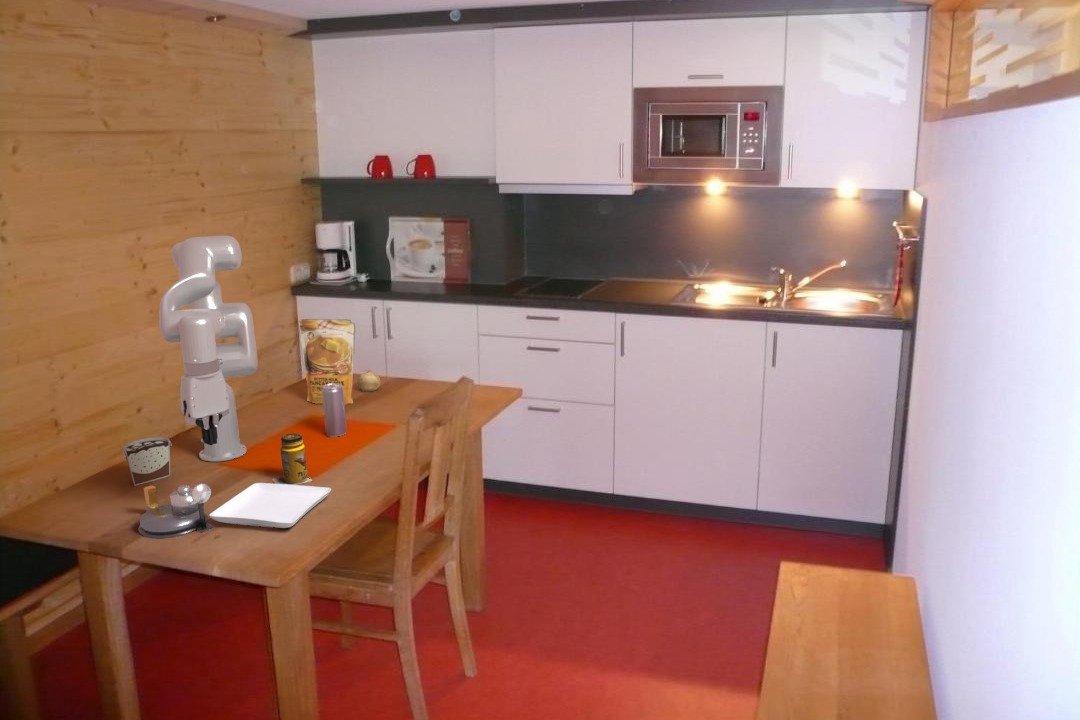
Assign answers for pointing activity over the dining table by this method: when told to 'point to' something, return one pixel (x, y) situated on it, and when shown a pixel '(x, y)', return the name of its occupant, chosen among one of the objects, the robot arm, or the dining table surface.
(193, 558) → the dining table surface
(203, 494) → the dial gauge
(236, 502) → the salad plate
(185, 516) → the turntable
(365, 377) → the onion
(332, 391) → the beverage can
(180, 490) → the cover
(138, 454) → the food container
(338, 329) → the pancake mix bag
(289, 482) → the condiment
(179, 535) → the turntable base
